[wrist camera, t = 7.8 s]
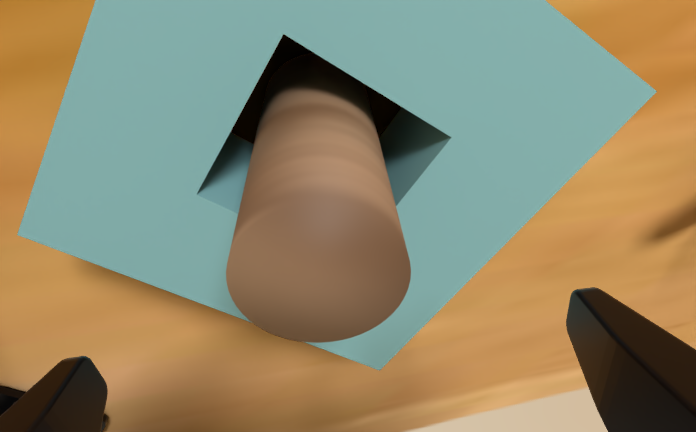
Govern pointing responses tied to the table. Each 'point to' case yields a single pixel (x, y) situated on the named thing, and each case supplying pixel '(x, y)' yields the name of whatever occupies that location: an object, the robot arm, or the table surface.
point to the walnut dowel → (317, 212)
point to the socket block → (396, 141)
